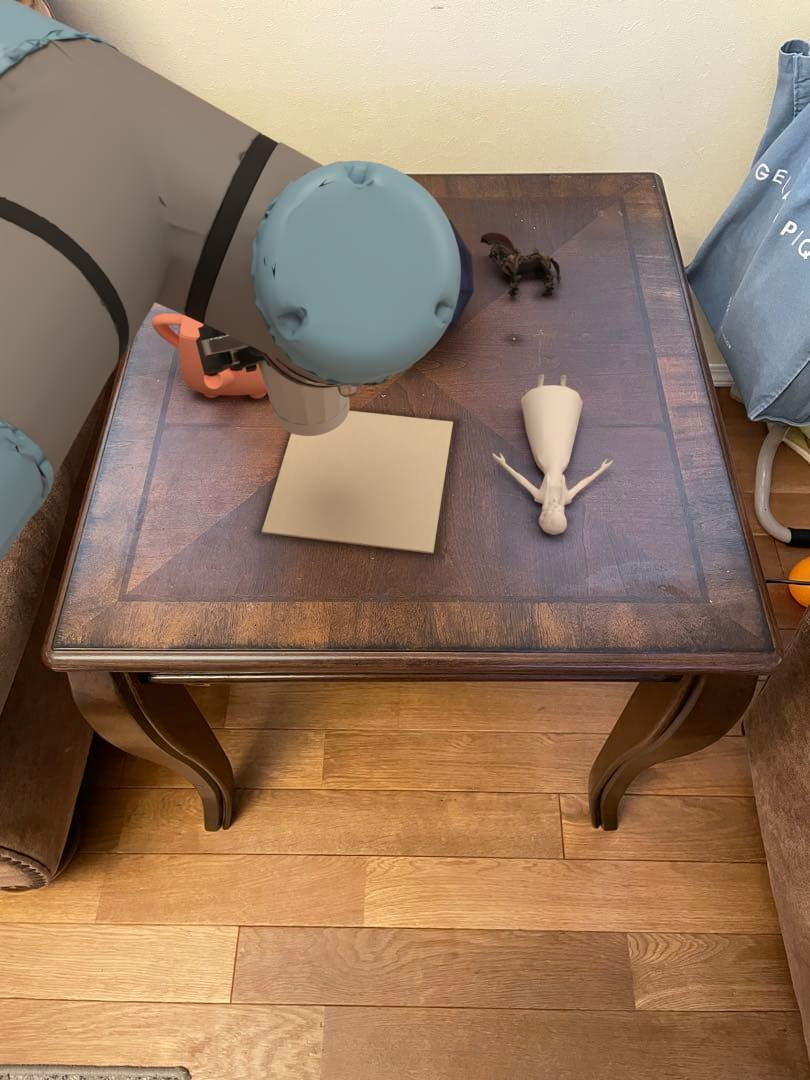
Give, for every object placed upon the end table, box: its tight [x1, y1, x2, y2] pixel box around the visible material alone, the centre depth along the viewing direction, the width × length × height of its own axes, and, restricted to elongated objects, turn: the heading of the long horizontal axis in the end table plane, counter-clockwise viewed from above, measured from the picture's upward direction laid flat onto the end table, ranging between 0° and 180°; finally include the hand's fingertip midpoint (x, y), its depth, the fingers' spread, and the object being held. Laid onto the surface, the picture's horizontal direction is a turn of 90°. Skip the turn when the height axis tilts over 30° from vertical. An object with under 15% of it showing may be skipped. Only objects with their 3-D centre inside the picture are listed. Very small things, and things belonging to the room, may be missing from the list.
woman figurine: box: [491, 373, 614, 536], centre depth 77 cm, size 12×4×18 cm
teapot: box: [151, 313, 267, 399], centre depth 81 cm, size 12×12×10 cm
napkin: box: [261, 410, 454, 555], centre depth 78 cm, size 16×16×1 cm
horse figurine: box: [479, 231, 562, 341], centre depth 92 cm, size 9×4×15 cm
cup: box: [258, 361, 351, 436], centre depth 61 cm, size 8×8×12 cm
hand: (297, 344), depth 64 cm, fingers closed on cup, 7 cm apart
